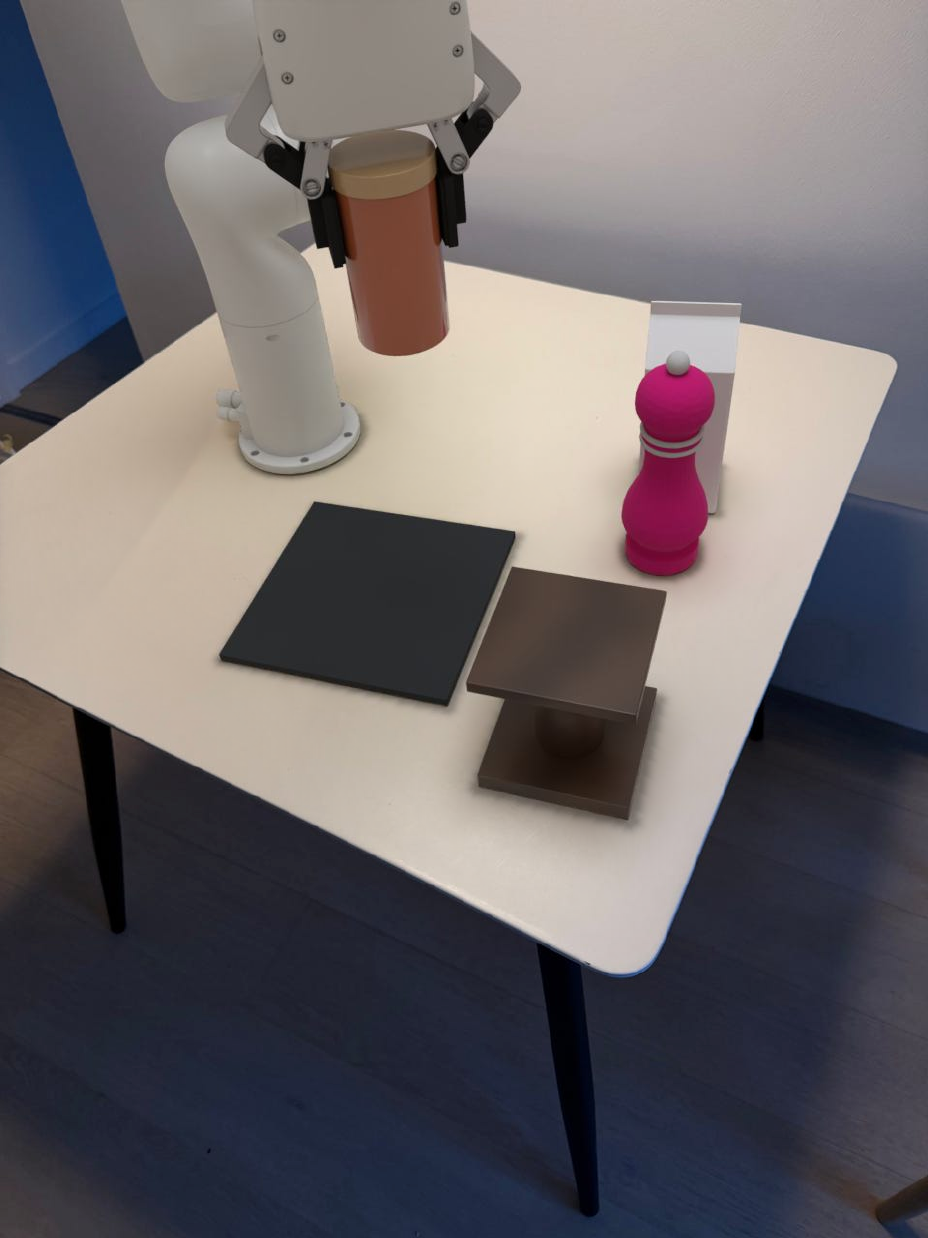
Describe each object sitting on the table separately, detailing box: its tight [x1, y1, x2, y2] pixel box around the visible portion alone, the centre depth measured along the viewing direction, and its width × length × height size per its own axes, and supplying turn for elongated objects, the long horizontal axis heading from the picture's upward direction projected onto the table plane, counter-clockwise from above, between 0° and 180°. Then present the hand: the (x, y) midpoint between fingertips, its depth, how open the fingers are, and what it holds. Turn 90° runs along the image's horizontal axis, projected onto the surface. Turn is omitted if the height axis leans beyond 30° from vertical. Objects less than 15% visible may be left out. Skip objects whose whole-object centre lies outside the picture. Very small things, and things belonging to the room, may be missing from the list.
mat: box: [218, 500, 517, 707], centre depth 86 cm, size 20×20×1 cm
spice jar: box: [327, 129, 451, 357], centre depth 56 cm, size 6×6×11 cm
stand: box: [465, 566, 668, 820], centre depth 70 cm, size 11×11×12 cm
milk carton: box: [638, 300, 743, 514], centre depth 86 cm, size 7×7×19 cm
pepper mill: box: [620, 351, 715, 576], centre depth 80 cm, size 7×7×20 cm
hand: (392, 243), depth 56 cm, fingers closed on spice jar, 5 cm apart
